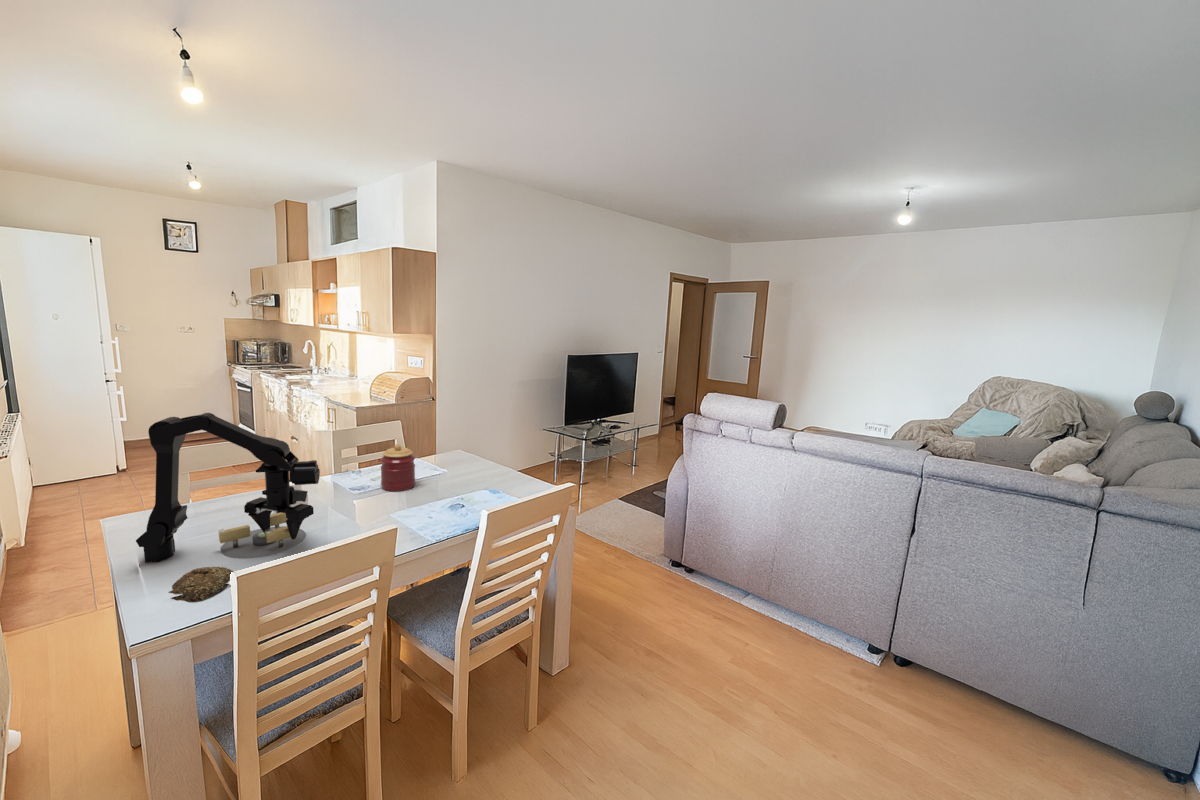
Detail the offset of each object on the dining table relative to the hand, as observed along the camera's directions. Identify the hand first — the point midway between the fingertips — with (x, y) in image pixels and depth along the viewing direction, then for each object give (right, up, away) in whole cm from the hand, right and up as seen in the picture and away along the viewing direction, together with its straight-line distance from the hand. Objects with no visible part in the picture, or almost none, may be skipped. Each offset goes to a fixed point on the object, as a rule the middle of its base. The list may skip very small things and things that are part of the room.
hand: (280, 536), depth 142 cm
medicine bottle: (-13, 0, +25) cm, 28 cm away
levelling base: (-7, -3, +3) cm, 8 cm away
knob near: (0, -3, 0) cm, 3 cm away
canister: (+11, +4, +57) cm, 58 cm away
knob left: (-12, -3, -1) cm, 13 cm away
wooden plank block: (-7, -1, +10) cm, 12 cm away
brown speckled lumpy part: (-7, -8, -19) cm, 22 cm away
